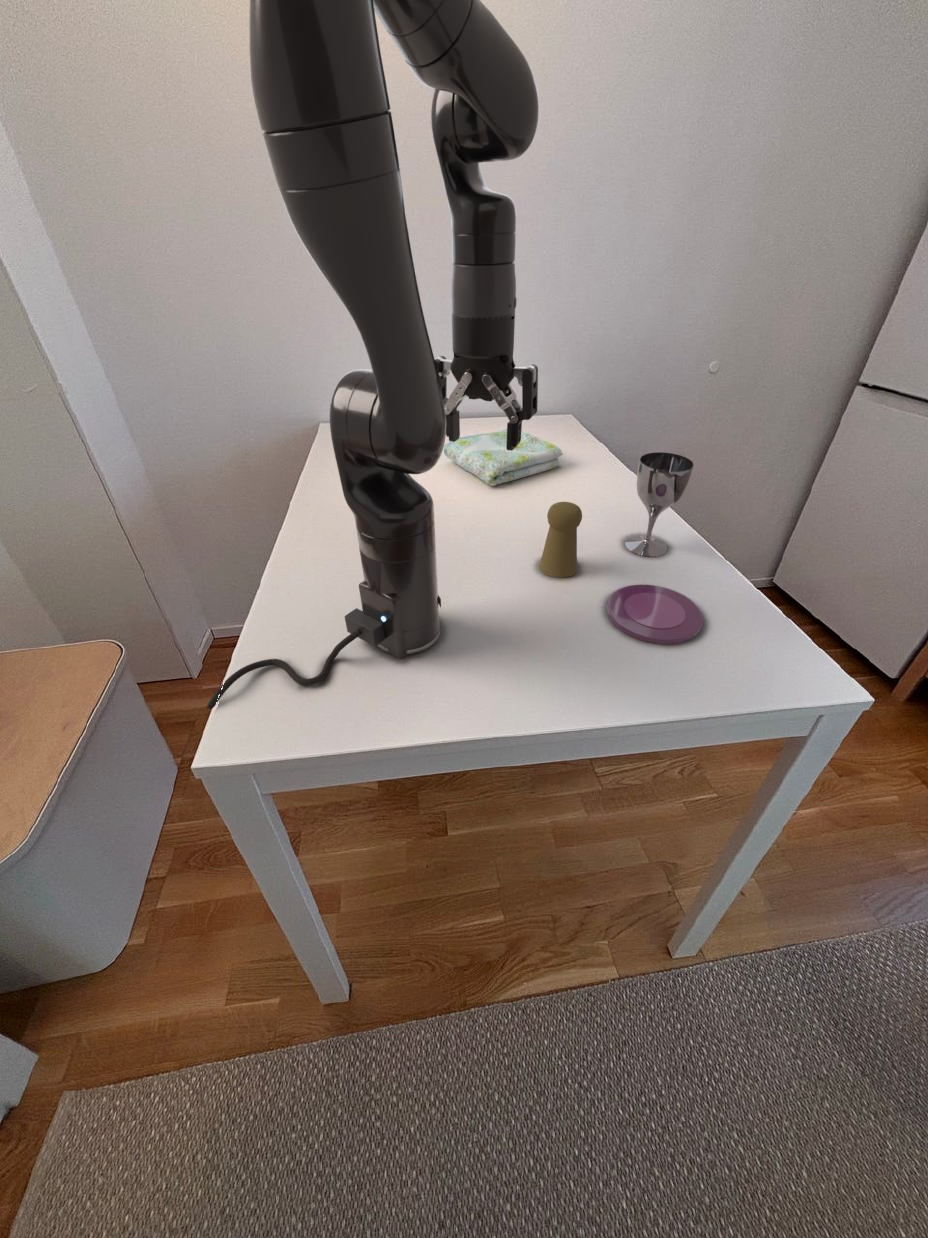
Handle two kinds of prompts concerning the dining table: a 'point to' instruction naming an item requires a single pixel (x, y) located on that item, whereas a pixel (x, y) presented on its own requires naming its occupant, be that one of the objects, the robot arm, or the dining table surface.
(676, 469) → the wine glass
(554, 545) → the cork
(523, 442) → the towel
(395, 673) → the dining table surface
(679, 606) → the saucer
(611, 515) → the dining table surface
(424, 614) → the robot arm
